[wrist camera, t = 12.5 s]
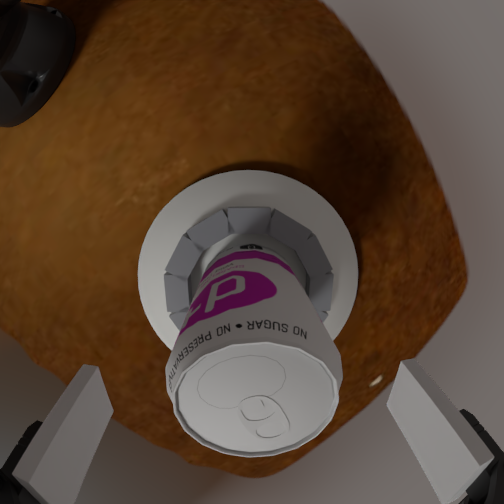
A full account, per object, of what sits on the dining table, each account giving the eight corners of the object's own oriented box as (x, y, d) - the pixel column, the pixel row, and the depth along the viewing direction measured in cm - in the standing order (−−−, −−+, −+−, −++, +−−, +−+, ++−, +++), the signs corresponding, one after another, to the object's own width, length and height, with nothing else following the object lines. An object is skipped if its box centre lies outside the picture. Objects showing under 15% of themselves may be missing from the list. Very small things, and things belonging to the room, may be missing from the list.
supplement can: (185, 266, 25) (120, 367, 10) (273, 226, 24) (320, 289, 10) (226, 342, 27) (215, 475, 12) (308, 308, 26) (368, 427, 11)
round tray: (136, 174, 24) (124, 174, 21) (359, 175, 25) (372, 174, 22) (155, 369, 28) (149, 384, 26) (340, 367, 29) (348, 382, 26)
